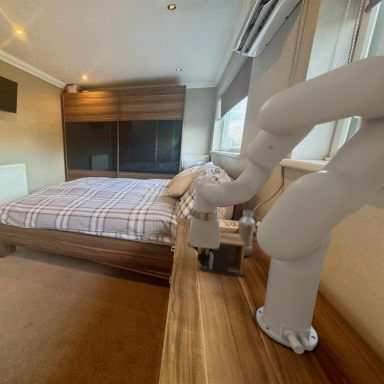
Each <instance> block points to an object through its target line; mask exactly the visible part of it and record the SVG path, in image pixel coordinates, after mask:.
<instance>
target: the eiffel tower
mask: <svg viewBox="0 0 384 384" xmlns="http://www.w3.org/2000/svg"><path fill="white" fill-rule="evenodd" d="M251 201H252V198H251V199H249V200H248V201H246V207H245V210H251ZM236 230H237V231H236ZM236 230H234V234H239V227H238V228H236ZM252 242H254V243H255V242H257V238H256V232H255V230H254V232H253V237H252Z"/></svg>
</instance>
